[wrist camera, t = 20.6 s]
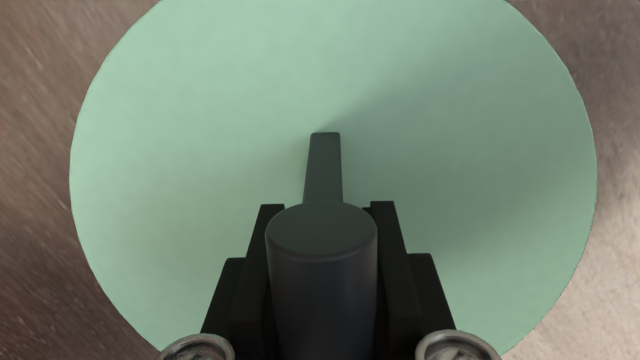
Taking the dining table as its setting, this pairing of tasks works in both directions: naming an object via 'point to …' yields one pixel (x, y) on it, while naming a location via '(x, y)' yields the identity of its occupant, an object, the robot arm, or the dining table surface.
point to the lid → (333, 163)
